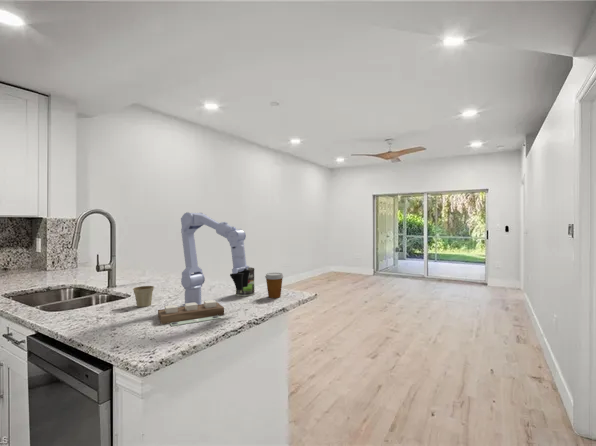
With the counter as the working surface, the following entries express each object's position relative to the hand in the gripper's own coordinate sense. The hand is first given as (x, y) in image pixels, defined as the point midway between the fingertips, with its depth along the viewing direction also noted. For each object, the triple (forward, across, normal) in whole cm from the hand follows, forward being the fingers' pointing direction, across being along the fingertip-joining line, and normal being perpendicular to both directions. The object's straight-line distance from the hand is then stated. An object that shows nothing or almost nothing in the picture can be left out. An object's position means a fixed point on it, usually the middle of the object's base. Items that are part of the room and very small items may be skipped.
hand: (242, 288), depth 143 cm
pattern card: (+9, -12, +17) cm, 23 cm away
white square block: (+7, -1, +15) cm, 17 cm away
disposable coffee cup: (+11, +32, -6) cm, 35 cm away
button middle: (+7, -6, +22) cm, 23 cm away
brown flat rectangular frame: (+8, -6, +22) cm, 24 cm away
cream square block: (+6, -11, +28) cm, 30 cm away
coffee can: (+8, +37, +12) cm, 39 cm away
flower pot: (+4, +8, +53) cm, 54 cm away
